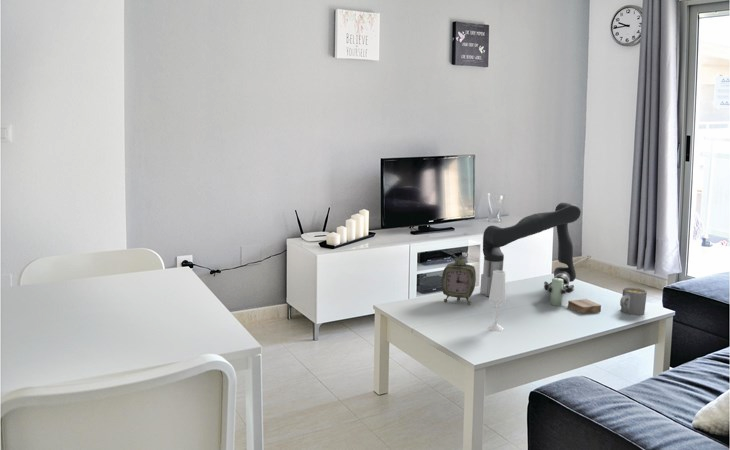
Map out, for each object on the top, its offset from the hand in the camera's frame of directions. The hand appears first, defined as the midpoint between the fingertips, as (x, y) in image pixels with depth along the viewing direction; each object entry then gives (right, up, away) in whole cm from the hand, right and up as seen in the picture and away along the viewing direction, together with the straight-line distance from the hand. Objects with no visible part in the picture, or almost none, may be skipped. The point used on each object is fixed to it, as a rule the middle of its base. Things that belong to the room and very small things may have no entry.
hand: (556, 291), depth 304 cm
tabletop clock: (-44, -5, +4) cm, 45 cm away
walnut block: (+12, -8, -2) cm, 15 cm away
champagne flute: (-34, -12, -30) cm, 47 cm away
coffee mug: (+32, -9, -4) cm, 33 cm away
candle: (+1, -6, +4) cm, 7 cm away
